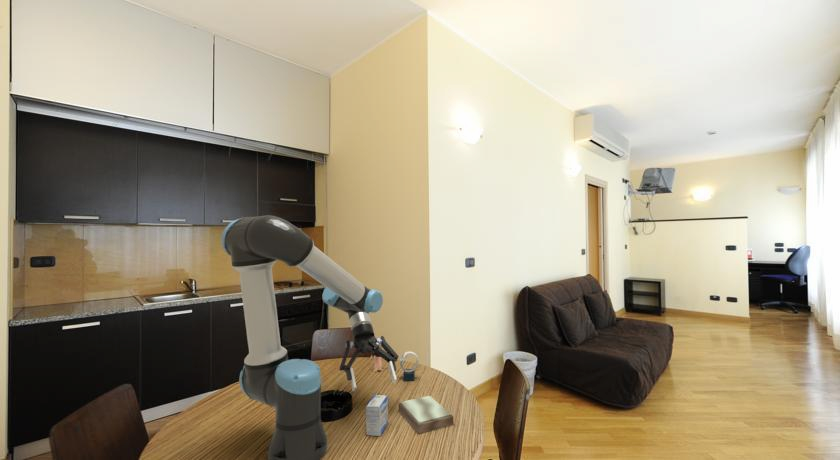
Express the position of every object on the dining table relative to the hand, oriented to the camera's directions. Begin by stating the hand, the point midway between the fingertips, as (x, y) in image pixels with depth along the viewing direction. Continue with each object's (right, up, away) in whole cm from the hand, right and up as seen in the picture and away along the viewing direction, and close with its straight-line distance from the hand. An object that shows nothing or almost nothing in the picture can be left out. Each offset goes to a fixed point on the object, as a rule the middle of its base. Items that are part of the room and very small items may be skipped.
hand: (375, 385), depth 113 cm
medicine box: (+2, -10, -7) cm, 13 cm away
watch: (+10, -12, +32) cm, 36 cm away
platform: (+16, -10, 0) cm, 19 cm away
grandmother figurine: (-4, -13, +42) cm, 44 cm away
